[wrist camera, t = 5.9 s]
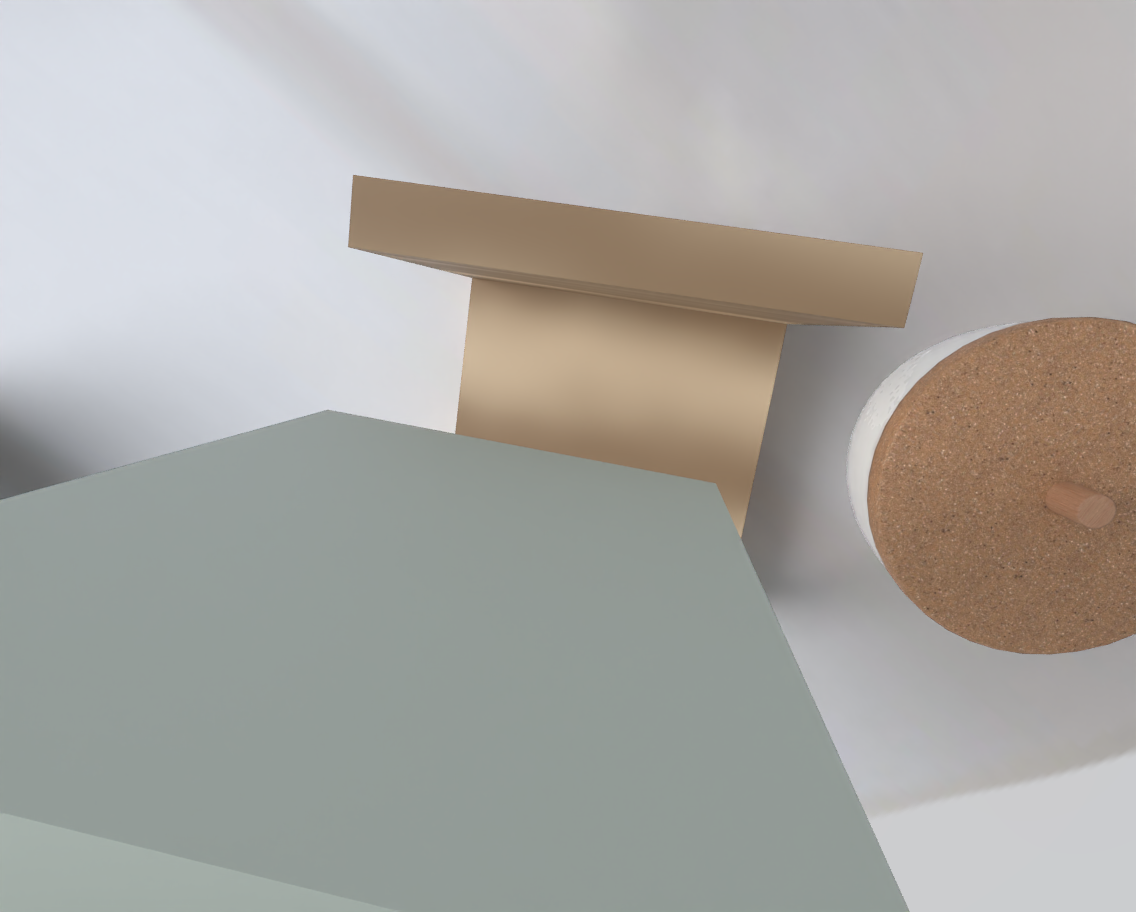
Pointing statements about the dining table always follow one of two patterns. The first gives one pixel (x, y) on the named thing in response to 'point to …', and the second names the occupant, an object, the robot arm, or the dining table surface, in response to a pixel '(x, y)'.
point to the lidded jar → (1008, 483)
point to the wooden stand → (627, 321)
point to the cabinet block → (406, 690)
